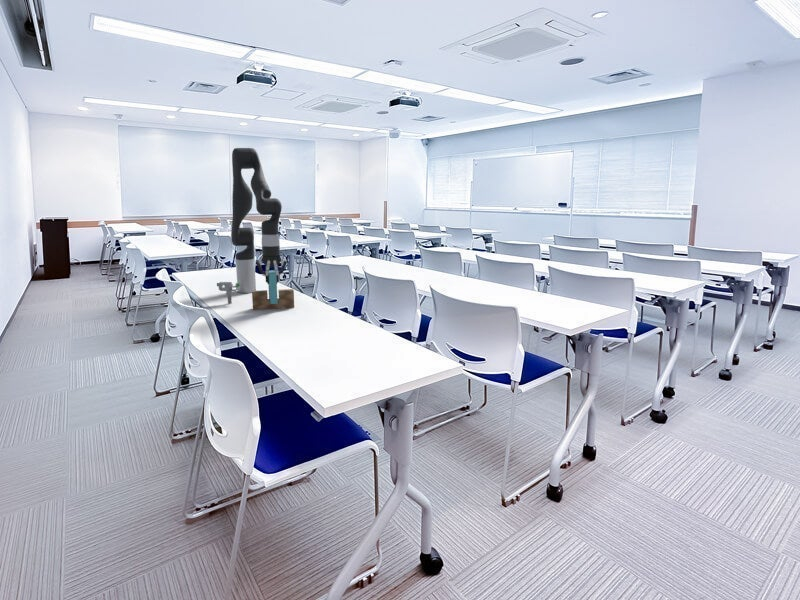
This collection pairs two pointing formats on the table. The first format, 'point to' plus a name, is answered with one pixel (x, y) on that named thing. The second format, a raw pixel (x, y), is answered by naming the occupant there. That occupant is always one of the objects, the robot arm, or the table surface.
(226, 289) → the mechanical component
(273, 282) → the teal notched block
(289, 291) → the walnut slotted plate
